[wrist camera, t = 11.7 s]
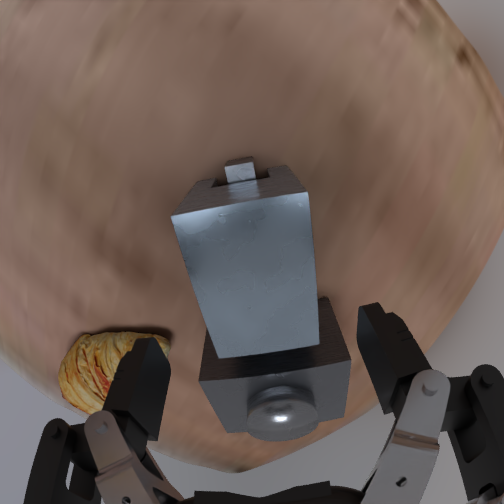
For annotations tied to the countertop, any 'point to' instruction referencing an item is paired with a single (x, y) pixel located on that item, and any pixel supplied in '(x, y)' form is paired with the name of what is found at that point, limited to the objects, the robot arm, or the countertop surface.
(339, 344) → the grey knobbed block
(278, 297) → the notched metal block
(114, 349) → the croissant
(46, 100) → the countertop surface
